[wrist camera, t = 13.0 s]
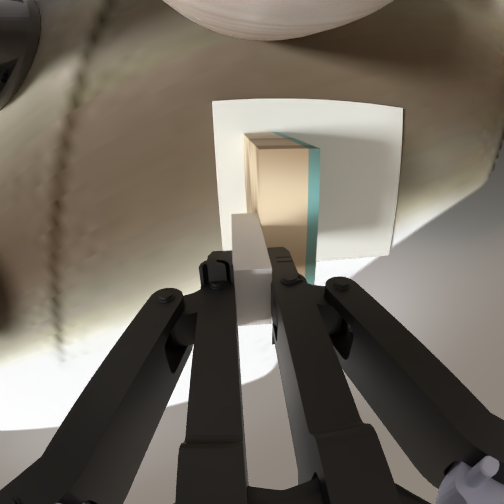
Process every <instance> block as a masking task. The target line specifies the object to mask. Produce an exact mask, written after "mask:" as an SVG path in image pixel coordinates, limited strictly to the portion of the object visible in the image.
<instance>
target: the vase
mask: <svg viewBox="0 0 504 504" xmlns="http://www.w3.org/2000/svg"><path fill="white" fill-rule="evenodd" d="M163 1H164V2H165V3H167V4H168V5H169V6H171V7H172V8H173V9H175V10H176V11H177V12H179V13H180V14H182V15H183V16H185V17H186V18H188V19H190V20H191V21H193V22H195V23H197V24H198V25H200V26H202V27H205V28H207V29H209V30H212V31H214V32H217V33H219V34H223V35H227V36H230V37H234V38H240V39H246V40H257V41H274V40H286V39H292V38H298V37H304V36H308V35H311V34H315V33H318V32H322V31H326V30H329V29H333V28H337V27H340V26H343V25H346V24H348V23H351V22H353V21H355V20H358V19H361V18H363V17H365V16H367V15H370V14H372V13H374V12H376V11H377V10H379V9H381V8H382V7H384V6H386V5H387V4H389V3H391V2H392V1H394V0H163Z"/></svg>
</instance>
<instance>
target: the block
mask: <svg viewBox="0 0 504 504" xmlns="http://www.w3.org/2000/svg"><path fill="white" fill-rule="evenodd" d="M243 146H244V168H245V189H246V210H247V213H257V214H258V218H259V221H260V225H261V229H262V232H263V236H264V240H265V244H266V247H267V248H270V247H284V248H286V249H287V250H288V251H289V252H290V254H291V257H292V259H293V262H294V264H295V266H296V269H297V271H298V273H299V274H301V275H303V276H304V277H305V279H306V281H307V283H308V284H311V285H314V280H315V267H316V252H317V235H318V215H319V189H320V148H318V147H315V146H313V145H310V144H308V143H305V142H303V141H300V140H298V139H295V138H292V137H290V136H287V135H284V134H282V133H279V132H260V133H243Z"/></svg>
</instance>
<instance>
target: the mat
mask: <svg viewBox="0 0 504 504" xmlns="http://www.w3.org/2000/svg"><path fill="white" fill-rule="evenodd" d="M212 107H213V124H214V141H215V156H216V170H217V184H218V197H219V210H220V222H221V234H222V245H223V251H230V250H232V219H231V214H240V213H247V210H246V189H245V168H244V146H243V133H260V132H279V133H282V134H284V135H287V136H290V137H292V138H295V139H298V140H300V141H303V142H305V143H308V144H310V145H313V146H315V147H318V148H320V189H319V215H318V235H317V252H316V261H326V260H338V259H351V258H363V257H375V256H386V255H389V251H390V245H391V239H392V233H393V226H394V219H395V212H396V204H397V195H398V186H399V175H400V163H401V148H402V123H403V108H398V107H391V106H384V105H376V104H368V103H358V102H348V101H335V100H317V99H240V100H223V101H212Z"/></svg>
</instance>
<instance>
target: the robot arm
mask: <svg viewBox="0 0 504 504" xmlns="http://www.w3.org/2000/svg"><path fill="white" fill-rule="evenodd" d="M40 30H41V18H40V12H39V9H38V7H37V5H36V3H35V2H34V1H33V0H0V109H1V108H2V107H3V106H4V105H6V104H7V103H8V101H9V100H10V99H11V98H12V97H13V96H14V94H15V93H16V92H17V90H18V89H19V87H20V85H21V84H22V82H23V80H24V79H25V77H26V75H27V73H28V71H29V69H30V66H31V64H32V62H33V59H34V56H35V53H36V50H37V46H38V42H39V37H40ZM231 219H232V250H230V251H213V252H212V253H211V254H210V255H209V256H208V259H207V261H204V262H203V263H201V264H200V266H199V273H200V280H201V289H200V290H199V291H197V292H195V293H192V294H189V295H185V296H183V294H182V292H181V291H180V290H178V289H174V288H164V289H161V290H158V291H156V292H155V293H154V294H152V295H151V297H150V298H149V299H148V300H147V302H146V303H145V304H144V306H143V307H142V308H141V310H140V311H139V312H138V314H137V315H136V317H135V318H134V319H133V321H132V322H131V323H130V325H129V326H128V327H127V329H126V330H125V332H124V333H123V334H122V336H121V337H120V338H119V340H118V341H117V343H116V344H115V345H114V347H113V348H112V350H111V351H110V352H109V354H108V355H107V357H106V358H105V360H104V361H103V362H102V364H101V365H100V367H99V368H98V370H97V371H96V373H95V374H94V375H93V377H92V378H91V380H90V381H89V383H88V384H87V386H86V387H85V389H84V390H83V392H82V393H81V395H80V396H79V398H78V399H77V401H76V402H75V404H74V405H73V407H72V408H71V410H70V411H69V413H68V415H67V416H66V418H65V419H64V421H63V422H62V424H61V426H60V427H59V429H58V430H57V432H56V434H55V435H54V437H53V438H52V440H51V442H50V443H49V445H48V447H47V448H46V450H45V452H44V453H43V455H42V457H40V458H39V459H38V460H37V461H36V462H34V463H33V464H32V465H31V466H30V467H28V468H27V469H26V470H25V471H23V472H22V473H21V474H20V475H19V476H18V477H16V478H15V479H14V480H12V481H11V482H10V483H9V484H7V485H6V486H5V487H4V488H3V489H1V490H0V504H123V502H124V500H125V499H126V497H127V494H128V492H129V490H130V488H131V485H132V483H133V481H134V478H135V476H136V474H137V471H138V469H139V467H140V464H141V462H142V460H143V458H144V455H145V453H146V451H147V449H148V446H149V444H150V442H151V439H152V437H153V435H154V433H155V430H156V428H157V426H158V424H159V421H160V419H161V417H162V415H163V412H164V410H165V408H166V406H167V404H168V401H169V399H170V397H171V395H172V393H173V390H174V388H175V386H176V384H177V381H178V379H179V377H180V375H181V373H182V370H183V368H184V366H185V364H186V362H187V359H188V357H189V355H190V353H191V351H192V347H193V344H194V349H193V358H192V368H191V378H190V389H189V400H188V412H187V425H186V437H185V441H184V442H183V443H181V445H180V448H179V455H178V468H177V469H178V470H177V485H176V502H175V503H174V504H431V503H429V502H427V501H425V500H423V499H422V498H420V497H418V496H416V495H415V494H412V493H411V492H409V491H408V490H406V489H404V488H403V487H401V486H399V485H397V484H396V483H394V481H393V478H392V475H391V472H390V469H389V466H388V463H387V461H386V458H385V455H384V452H383V450H382V447H381V444H380V441H379V439H378V436H377V433H376V431H375V430H374V428H373V427H372V426H371V425H370V424H365V423H363V422H362V420H361V418H360V416H359V413H358V410H357V408H356V405H355V402H354V399H353V396H352V394H351V391H350V388H349V386H348V383H347V380H346V378H345V375H344V373H343V370H344V372H345V373H346V374H347V376H348V377H349V378H350V380H351V381H352V382H353V384H354V385H355V386H356V388H357V389H358V390H359V392H360V393H361V395H362V396H363V397H364V399H365V400H366V401H367V403H368V404H369V405H370V406H371V408H372V409H373V411H374V412H375V413H376V415H377V416H378V417H379V419H380V420H381V421H382V423H383V424H384V425H385V427H386V428H387V429H388V431H389V432H390V433H391V435H392V436H393V438H394V439H395V440H396V442H397V443H398V444H399V446H400V447H401V448H402V450H403V451H404V452H405V454H406V455H407V456H408V458H409V459H410V461H411V462H412V463H413V465H414V466H415V467H416V468H417V470H418V471H419V472H420V473H421V474H422V475H423V477H425V478H426V479H427V480H428V481H429V482H430V483H431V484H432V485H433V486H435V487H436V488H438V489H439V491H438V495H437V498H436V503H437V504H504V420H502V419H501V418H499V417H497V416H495V415H493V414H492V413H490V412H489V411H488V410H487V409H486V408H485V406H484V405H483V404H482V403H481V402H480V401H479V400H478V399H477V398H476V397H475V396H474V395H473V394H472V393H471V392H470V391H469V390H468V389H467V388H466V387H465V386H464V385H463V384H462V383H461V382H460V380H459V379H458V378H457V377H455V376H454V374H453V373H451V372H450V370H449V369H448V368H447V367H445V365H443V364H442V363H441V362H440V361H439V360H438V359H437V358H436V357H435V356H434V355H433V354H432V353H431V352H430V351H429V350H428V349H427V348H426V347H425V346H424V345H423V344H422V343H421V342H420V341H419V340H418V339H417V338H416V337H415V336H414V335H413V334H412V333H410V332H409V331H408V330H407V329H406V328H405V327H404V326H403V325H402V324H401V323H400V322H399V321H397V319H395V318H394V317H393V316H392V315H391V314H390V313H389V312H388V311H387V310H386V309H385V308H384V307H383V306H381V305H380V304H379V303H378V302H377V301H376V300H375V299H374V298H373V297H372V296H370V295H369V294H368V293H367V292H366V291H365V290H364V289H362V288H361V287H360V286H359V285H358V284H357V283H356V282H355V281H353V280H351V279H349V278H346V277H333V278H330V279H328V280H327V281H326V285H325V286H317V285H311V284H308V283H307V281H306V279H305V277H304V276H303V275H301V274H299V273H298V271H297V269H296V266H295V264H294V262H293V259H292V257H291V254H290V252H289V251H288V250H287V249H286V248H284V247H270V248H267V247H266V244H265V240H264V236H263V232H262V229H261V225H260V221H259V218H258V214H257V213H240V214H231ZM272 321H273V333H272V344H275V347H276V352H277V358H278V363H279V368H280V374H281V379H282V385H283V390H284V395H285V401H286V406H287V412H288V418H289V422H290V429H291V434H292V439H293V445H294V451H295V456H296V462H297V467H298V485H297V486H295V487H292V488H289V489H286V490H272V489H264V488H256V487H250V486H249V484H248V473H247V461H246V447H245V434H244V420H243V406H242V390H241V374H240V358H239V341H238V326H243V325H258V324H272ZM342 369H343V370H342Z"/></svg>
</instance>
